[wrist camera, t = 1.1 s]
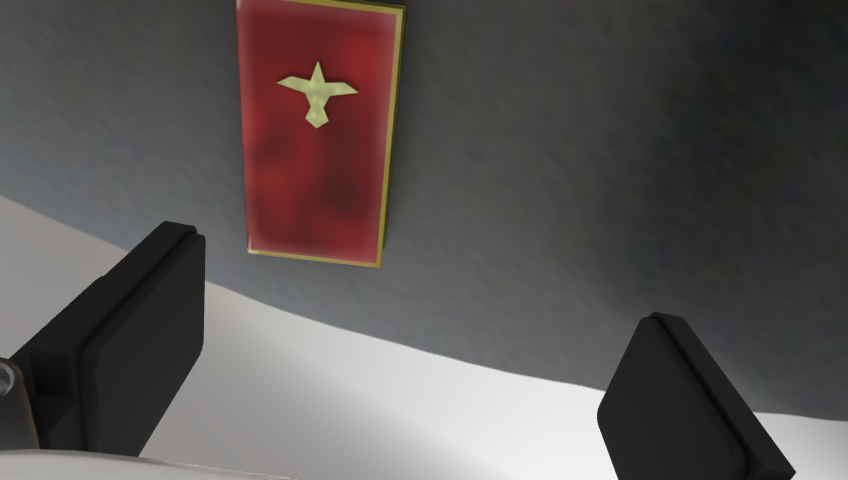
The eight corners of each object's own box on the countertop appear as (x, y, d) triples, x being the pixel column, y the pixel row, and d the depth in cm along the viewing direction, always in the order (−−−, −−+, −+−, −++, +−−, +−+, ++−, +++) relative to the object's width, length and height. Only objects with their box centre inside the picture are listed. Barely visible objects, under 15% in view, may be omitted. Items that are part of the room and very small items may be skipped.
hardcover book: (257, 232, 49) (242, 254, 46) (248, -14, 40) (228, -13, 36) (384, 247, 50) (380, 269, 46) (406, 5, 40) (402, 9, 36)
